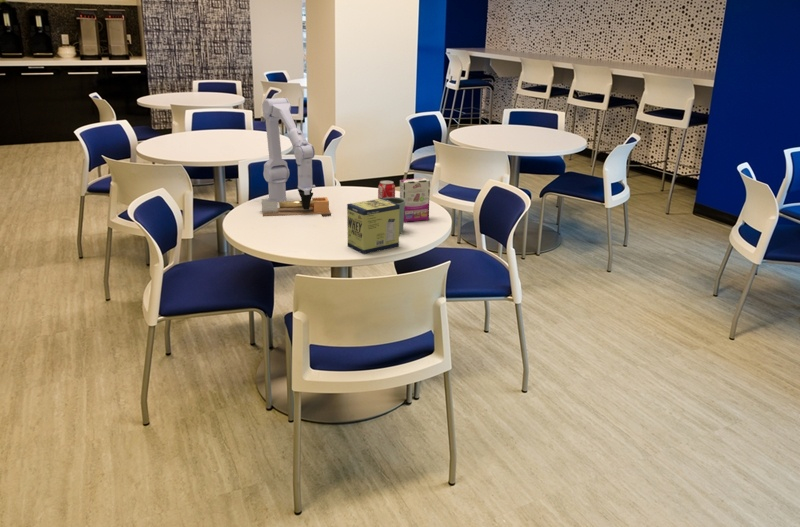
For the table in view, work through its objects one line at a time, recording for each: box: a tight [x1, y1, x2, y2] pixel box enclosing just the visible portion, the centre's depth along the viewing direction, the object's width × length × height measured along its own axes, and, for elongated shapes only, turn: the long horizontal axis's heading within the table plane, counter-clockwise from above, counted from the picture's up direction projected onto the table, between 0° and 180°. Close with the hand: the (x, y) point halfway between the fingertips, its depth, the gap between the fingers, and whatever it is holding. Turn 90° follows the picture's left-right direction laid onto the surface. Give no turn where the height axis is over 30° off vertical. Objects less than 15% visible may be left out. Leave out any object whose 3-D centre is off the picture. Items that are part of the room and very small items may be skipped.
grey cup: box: [383, 196, 405, 234], centre depth 255 cm, size 10×10×12 cm
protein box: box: [346, 198, 400, 255], centre depth 237 cm, size 10×16×16 cm
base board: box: [262, 207, 332, 217], centre depth 277 cm, size 12×27×1 cm, turn 103°
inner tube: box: [278, 199, 319, 209], centre depth 276 cm, size 4×16×4 cm, turn 102°
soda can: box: [377, 180, 396, 199], centre depth 283 cm, size 7×7×12 cm
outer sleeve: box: [261, 198, 279, 215], centre depth 274 cm, size 5×6×5 cm
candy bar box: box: [399, 177, 431, 223], centre depth 269 cm, size 11×5×16 cm, turn 112°
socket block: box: [311, 196, 330, 213], centre depth 278 cm, size 7×6×4 cm
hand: (305, 207), depth 277 cm, fingers closed on inner tube, 4 cm apart
